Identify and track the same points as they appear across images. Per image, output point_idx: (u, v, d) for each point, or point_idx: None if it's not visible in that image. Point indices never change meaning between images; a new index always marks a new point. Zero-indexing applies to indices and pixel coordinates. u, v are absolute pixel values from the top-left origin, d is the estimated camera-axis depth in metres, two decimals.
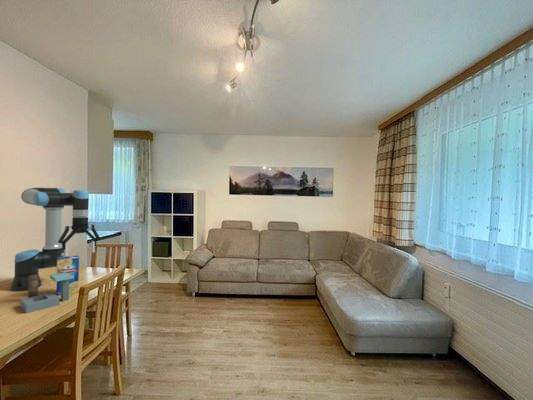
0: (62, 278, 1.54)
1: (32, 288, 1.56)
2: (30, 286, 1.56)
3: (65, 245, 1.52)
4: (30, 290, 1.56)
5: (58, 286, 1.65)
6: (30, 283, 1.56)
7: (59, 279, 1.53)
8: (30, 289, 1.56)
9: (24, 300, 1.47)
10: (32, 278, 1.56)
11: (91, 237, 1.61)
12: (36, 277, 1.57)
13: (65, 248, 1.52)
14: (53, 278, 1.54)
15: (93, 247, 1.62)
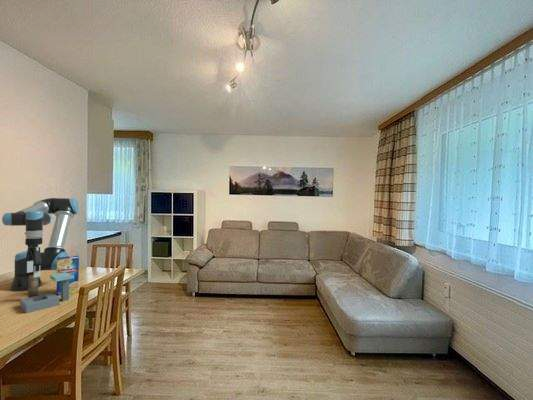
0: (62, 278, 1.54)
1: (32, 288, 1.56)
2: (30, 286, 1.56)
3: None
4: (30, 290, 1.56)
5: (58, 286, 1.65)
6: (30, 283, 1.56)
7: (59, 279, 1.53)
8: (30, 289, 1.56)
9: (24, 300, 1.47)
10: (32, 278, 1.56)
11: (33, 260, 1.53)
12: (36, 277, 1.57)
13: None
14: (53, 278, 1.54)
15: (33, 272, 1.52)
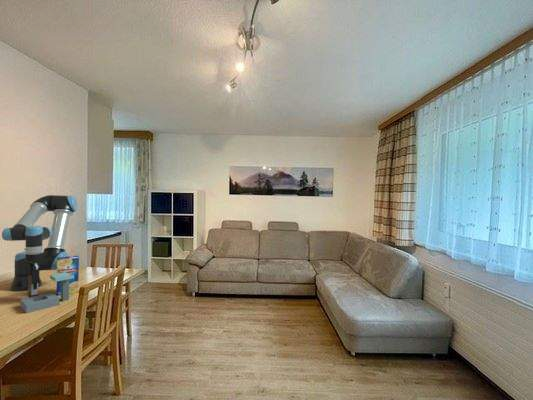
0: (62, 278, 1.54)
1: None
2: (30, 286, 1.56)
3: None
4: (30, 290, 1.56)
5: (58, 286, 1.65)
6: (30, 283, 1.56)
7: (59, 279, 1.53)
8: (30, 289, 1.56)
9: (24, 300, 1.47)
10: None
11: None
12: None
13: None
14: (53, 278, 1.54)
15: (31, 290, 1.55)
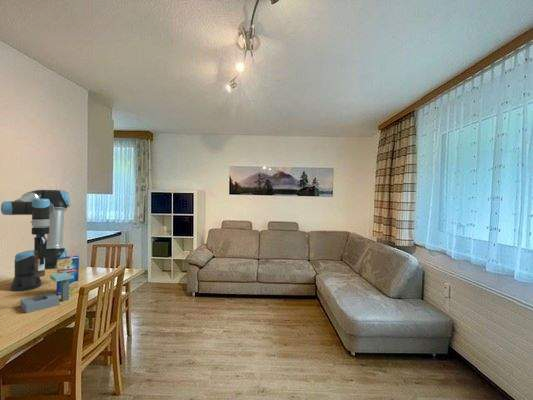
0: (62, 278, 1.54)
1: None
2: (36, 261, 1.48)
3: None
4: (36, 265, 1.48)
5: (58, 286, 1.65)
6: (36, 258, 1.48)
7: (59, 279, 1.53)
8: (36, 264, 1.48)
9: (24, 300, 1.47)
10: None
11: None
12: None
13: None
14: (53, 278, 1.54)
15: (38, 265, 1.47)
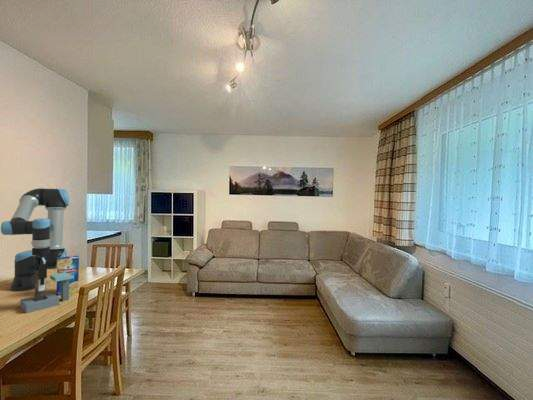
0: (62, 278, 1.54)
1: None
2: (37, 281, 1.48)
3: None
4: (37, 286, 1.48)
5: (58, 286, 1.65)
6: (37, 278, 1.48)
7: (59, 279, 1.53)
8: (37, 285, 1.48)
9: (24, 300, 1.47)
10: None
11: (39, 273, 1.47)
12: None
13: None
14: (53, 278, 1.54)
15: (38, 285, 1.47)
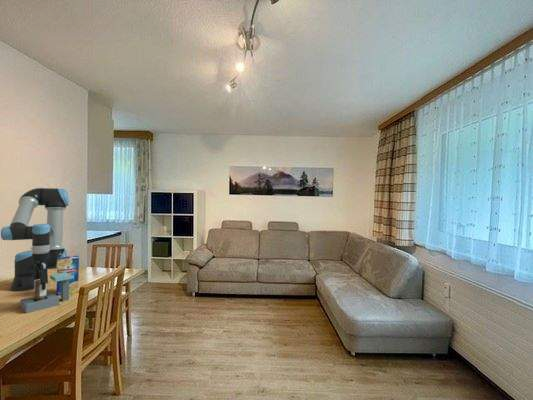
0: (62, 278, 1.54)
1: (39, 294, 1.48)
2: (37, 292, 1.48)
3: None
4: (37, 296, 1.48)
5: (58, 286, 1.65)
6: (37, 288, 1.48)
7: (59, 279, 1.53)
8: (37, 295, 1.48)
9: (24, 300, 1.47)
10: None
11: (39, 278, 1.47)
12: None
13: None
14: (53, 278, 1.54)
15: None
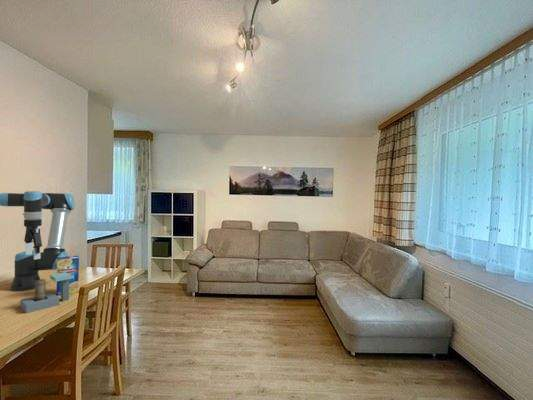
0: (62, 278, 1.54)
1: (39, 294, 1.48)
2: (37, 292, 1.48)
3: None
4: (37, 296, 1.48)
5: (58, 286, 1.65)
6: (37, 288, 1.48)
7: (59, 279, 1.53)
8: (37, 295, 1.48)
9: (24, 300, 1.47)
10: (39, 283, 1.48)
11: (33, 242, 1.49)
12: (43, 282, 1.50)
13: None
14: (53, 278, 1.54)
15: (34, 254, 1.48)
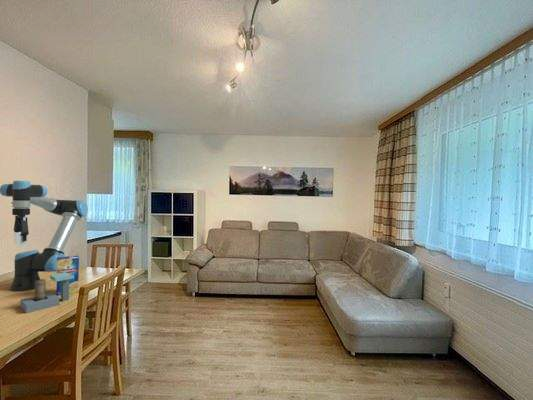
0: (62, 278, 1.54)
1: (39, 294, 1.48)
2: (37, 292, 1.48)
3: None
4: (37, 296, 1.48)
5: (58, 286, 1.65)
6: (37, 288, 1.48)
7: (59, 279, 1.53)
8: (37, 295, 1.48)
9: (24, 300, 1.47)
10: (39, 283, 1.48)
11: (20, 230, 1.51)
12: (43, 282, 1.50)
13: None
14: (53, 278, 1.54)
15: (20, 242, 1.51)
